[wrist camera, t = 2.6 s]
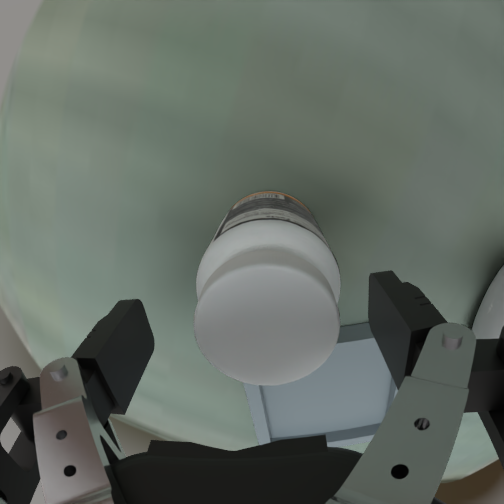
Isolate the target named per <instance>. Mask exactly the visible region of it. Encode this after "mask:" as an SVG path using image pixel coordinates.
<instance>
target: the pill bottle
mask: <svg viewBox="0 0 504 504" xmlns="http://www.w3.org/2000/svg"><path fill="white" fill-rule="evenodd" d="M340 285H341V279H340V271H339V267H338V264H337V261H336V259H335V257H334V255H333V253H332V251H331V249H330V247H329V245H328V243H327V241H326V240H325V238H324V236H323V234H322V232H321V230H320V228H319V226H318V224H317V222H316V221H315V219H314V217H313V216H312V214H311V213H310V211H309V210H308V209H307V208H306V206H305V205H303V204H302V203H301V202H300V201H298V200H297V199H295V198H294V197H292V196H290V195H287V194H284V193H280V192H275V191H263V192H257V193H254V194H251V195H248V196H246V197H244V198H243V199H241V200H240V201H238V202H237V203H236V204H235V205H234V206H233V207H232V208H231V209H230V210H229V211H228V213H227V214H226V216H225V218H224V219H223V221H222V222H221V224H220V226H219V227H218V229H217V231H216V233H215V235H214V237H213V239H212V241H211V243H210V244H209V245H208V247H207V250H206V251H205V253H204V255H203V257H202V259H201V262H200V264H199V267H198V272H197V277H196V291H197V298H198V303H197V306H196V309H195V313H194V333H195V338H196V341H197V343H198V346H199V348H200V350H201V352H202V353H203V355H204V356H205V357H206V359H207V360H208V361H209V362H210V363H211V364H212V365H213V366H214V367H215V368H217V369H218V370H219V371H221V372H222V373H224V374H225V375H227V376H229V377H231V378H233V379H236V380H238V381H241V382H245V383H248V384H253V385H266V386H273V385H281V384H286V383H290V382H293V381H296V380H299V379H301V378H303V377H305V376H307V375H309V374H310V373H312V372H313V371H315V370H316V369H317V368H319V367H320V366H321V365H322V364H323V363H324V362H325V361H326V360H327V359H328V357H329V356H330V354H331V353H332V351H333V350H334V347H335V345H336V343H337V340H338V337H339V332H340V314H339V309H338V306H337V304H338V301H339V296H340Z"/></svg>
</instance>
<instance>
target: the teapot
mask: <svg viewBox="0 0 504 504" xmlns="http://www.w3.org/2000/svg"><path fill="white" fill-rule="evenodd" d="M503 326H504V265H503V266H502V268H501V269H500V270H499V272H498V273H497V275H496V276H495V278H494V280H493V281H492V283H491V284H490V286H489V288H488V290H487V292H486V294H485V296H484V298H483V300H482V303H481V305H480V307H479V310H478V312H477V315H476V317H475V320H474V324H473V327H472V332H473V333H474V334H475V336H476V339H496V338H499V336H500V333H501V330H502V327H503Z"/></svg>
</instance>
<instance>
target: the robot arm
mask: <svg viewBox="0 0 504 504" xmlns="http://www.w3.org/2000/svg"><path fill="white" fill-rule="evenodd" d="M368 318H369V325H370V329H371V332H372V334H373V336H374V338H375V340H376V342H377V345H378V347H379V349H380V351H381V353H382V355H383V358H384V360H385V362H386V364H387V367H388V369H389V371H390V373H391V376H392V378H393V380H394V382H395V385H396V387H397V389H398V392H397V394H396V396H395V398H394V400H393V402H392V404H391V406H390V408H389V410H388V412H387V413H386V415H385V417H384V419H383V421H382V423H381V424H380V426H379V428H378V430H377V431H376V433H375V435H374V437H373V438H372V440H371V442H370V443H369V445H368V447H367V448H366V450H365V452H364V453H363V454H362V453H359V452H356V451H353V450H349V449H344V448H338V447H327V441H326V434H325V435H318V436H310V437H302V438H292V439H282V440H277V441H274V442H270V443H266V444H262V445H259V446H255V447H251V448H246V449H242V450H238V451H228V450H223V449H218V448H213V447H209V446H204V445H200V444H196V443H192V442H175V441H158V440H151V442H150V445H149V448H148V451H147V452H143V453H139V454H134V455H131V456H128V457H126V456H125V453H124V451H123V449H122V447H121V444H120V442H119V440H118V437H117V435H116V433H115V430H114V428H113V425H112V423H111V421H110V420H109V416H110V414H111V413H112V414H123V415H125V413H126V410H127V408H128V406H129V404H130V401H131V399H132V397H133V395H134V392H135V390H136V388H137V386H138V384H139V381H140V379H141V377H142V375H143V373H144V370H145V368H146V366H147V364H148V362H149V360H150V357H151V355H152V353H153V351H154V337H153V333H152V330H151V327H150V325H149V322H148V319H147V316H146V313H145V309H144V306H143V304H142V302H141V301H140V300H139V299H132V300H120V301H118V303H117V304H116V305H115V306H114V308H113V309H112V310H111V311H110V313H109V314H108V315H107V316H105V317H104V318H103V319H101V320H100V321H98V323H97V324H96V325H95V326H94V328H93V329H92V331H91V332H90V333H89V334H88V336H87V338H85V339H84V341H83V342H82V343H81V345H80V346H79V347H78V349H77V350H76V351H75V353H74V354H73V355H72V357H71V358H70V357H65V358H60V359H57V360H54V361H52V362H51V363H49V364H48V365H47V366H45V367H44V368H43V370H42V371H41V373H40V377H36V378H29V379H26V377H25V375H24V373H23V372H22V370H21V368H19V367H16V366H12V367H7V368H5V369H3V370H2V371H0V434H1V432H2V430H3V428H4V427H5V425H6V424H7V422H8V420H9V419H10V417H11V418H12V419H13V421H14V422H15V423H16V425H17V426H18V427H19V429H20V430H21V433H20V434H19V436H18V438H17V440H16V441H15V443H14V445H13V447H12V449H11V451H10V452H9V454H8V453H7V452H6V451H5V450H4V448H3V447H2V445H1V442H0V504H30V502H31V500H32V497H33V495H34V492H35V489H36V488H37V485H38V483H39V481H40V479H41V484H42V489H43V493H44V498H45V503H46V504H446V503H444V502H442V501H441V500H439V499H437V498H435V497H434V496H435V493H436V491H437V489H438V486H439V484H440V481H441V479H442V476H443V474H444V471H445V469H446V466H447V463H448V461H449V458H450V455H451V452H452V449H453V446H454V443H455V440H456V437H457V434H458V430H459V427H460V424H461V420H462V417H463V413H466V412H478V414H479V416H480V418H481V420H482V422H483V424H484V426H485V428H486V430H487V432H488V435H489V437H490V439H491V441H492V443H493V446H494V448H495V450H496V452H497V455H498V457H499V459H500V461H501V464H502V466H503V469H504V326H503V327H502V330H501V333H500V336H499V338H496V339H476V336H475V334H474V333H473V332H472V331H471V330H470V329H469V328H467V327H465V326H463V325H461V324H457V323H448V322H447V321H446V320H445V319H444V317H443V316H442V315H441V314H440V313H439V311H438V310H437V309H436V308H435V307H434V305H433V304H431V302H430V301H429V299H428V298H427V297H425V295H424V294H423V292H422V291H421V290H420V289H419V288H418V287H416V286H414V285H412V284H410V283H408V282H404V283H402V282H401V281H400V280H399V278H398V277H397V276H396V275H395V273H394V272H393V271H391V270H390V271H383V272H376V273H371V274H370V276H369V306H368Z"/></svg>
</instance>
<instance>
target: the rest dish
mask: <svg viewBox="0 0 504 504" xmlns="http://www.w3.org/2000/svg"><path fill="white" fill-rule="evenodd" d="M243 384H244V388H245V392H246V396H247V400H248V404H249V408H250V412H251V415H252V419H253V423H254V427H255V431H256V435H257V439H258V442H259V445H262V444H266V443H270V442H274V441H277V440H282V439H292V438H302V437H310V436H318V435H325V434H326V441H327V447H342V446H348V445H354V444H359V443H365V442H370V441H371V440H372V438H373V437H374V435H375V433H376V431H377V430H378V428H379V426H380V424H381V423H382V421H383V419H384V417H385V415H386V413H387V412H388V410H389V408H390V406H391V404H392V402H393V400H394V398H395V396H396V394H397V392H398V389H397V387H396V385H395V382H394V380H393V378H392V376H391V373H390V371H389V369H388V367H387V364H386V362H385V360H384V358H383V355H382V353H381V351H380V349H379V347H378V345H377V342H376V340H375V338H374V336H373V334H372V332H371V329H370V325H369V323H362V324H356V325H350V326H343V327H340V332H339V337H338V340H337V343H336V345H335V347H334V350H333V351H332V353H331V354H330V356H329V357H328V359H327V360H326V361H325V362H324V363H323V364H322V365H321V366H320V367H319V368H317V369H316V370H315V371H313V372H312V373H310V374H309V375H307V376H305V377H303V378H301V379H299V380H296V381H293V382H290V383H286V384H281V385H273V386H266V385H253V384H248V383H245V382H243Z"/></svg>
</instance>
